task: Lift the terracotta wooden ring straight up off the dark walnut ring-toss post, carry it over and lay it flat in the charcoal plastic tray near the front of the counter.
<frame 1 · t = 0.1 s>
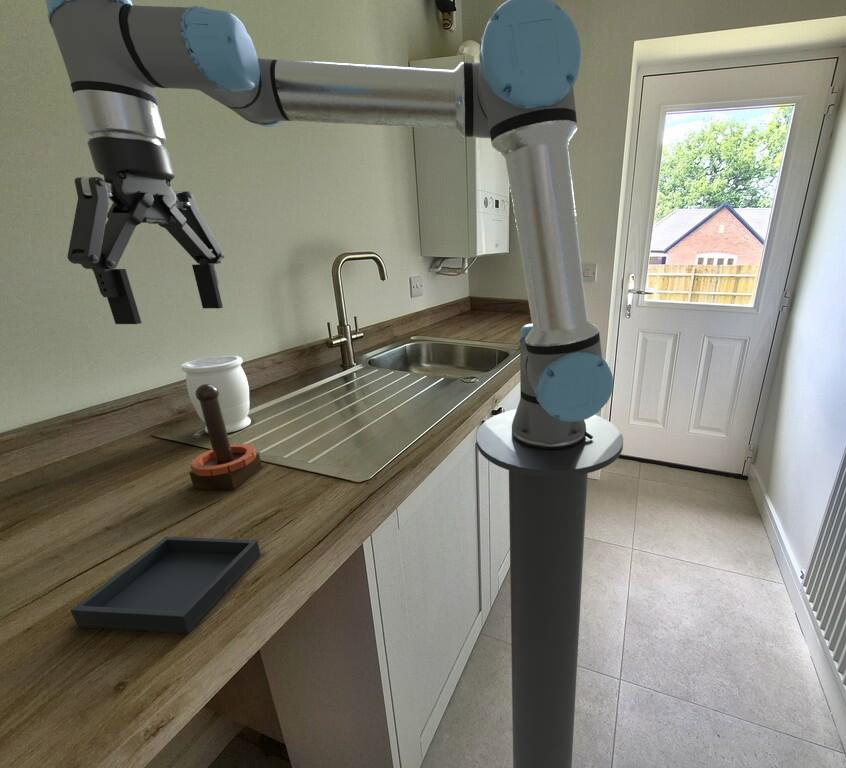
hand: (175, 315, 57), 28 cm above the table, tool pointing down, fingers open, 13 cm apart
tray: (178, 587, 47), on the table
jar: (229, 427, 90), on the table
ring: (225, 462, 69), point 3 cm above the table, touching ring stand
ring stand: (229, 477, 70), on the table
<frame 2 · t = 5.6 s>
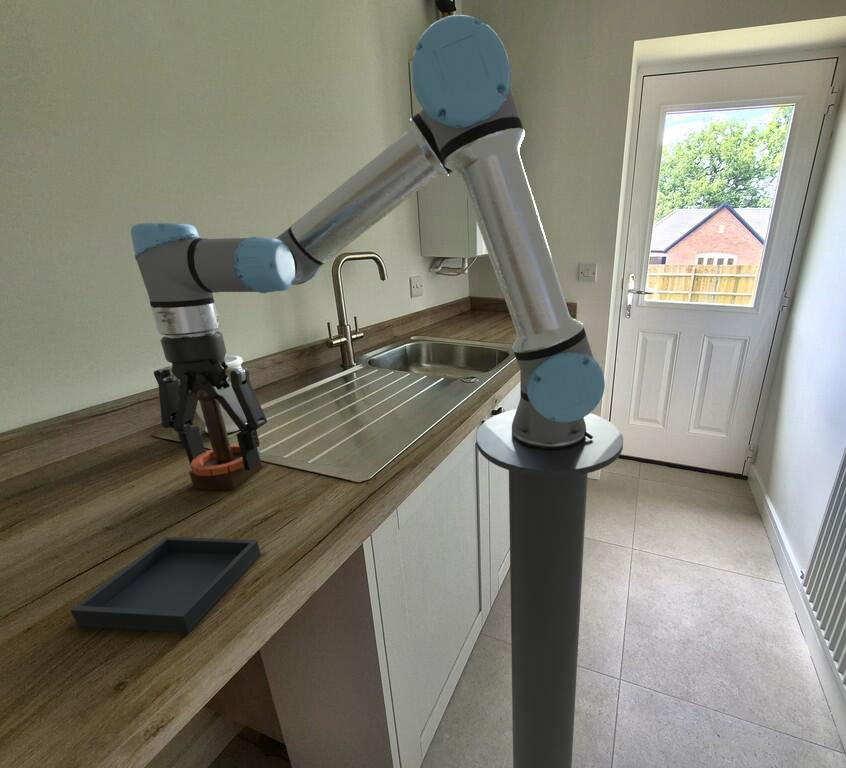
hand: (226, 465, 69), 2 cm above the table, tool pointing down, fingers closed on ring, 9 cm apart
ring: (225, 462, 69), point 3 cm above the table, touching gripper, ring stand
everything else where it was.
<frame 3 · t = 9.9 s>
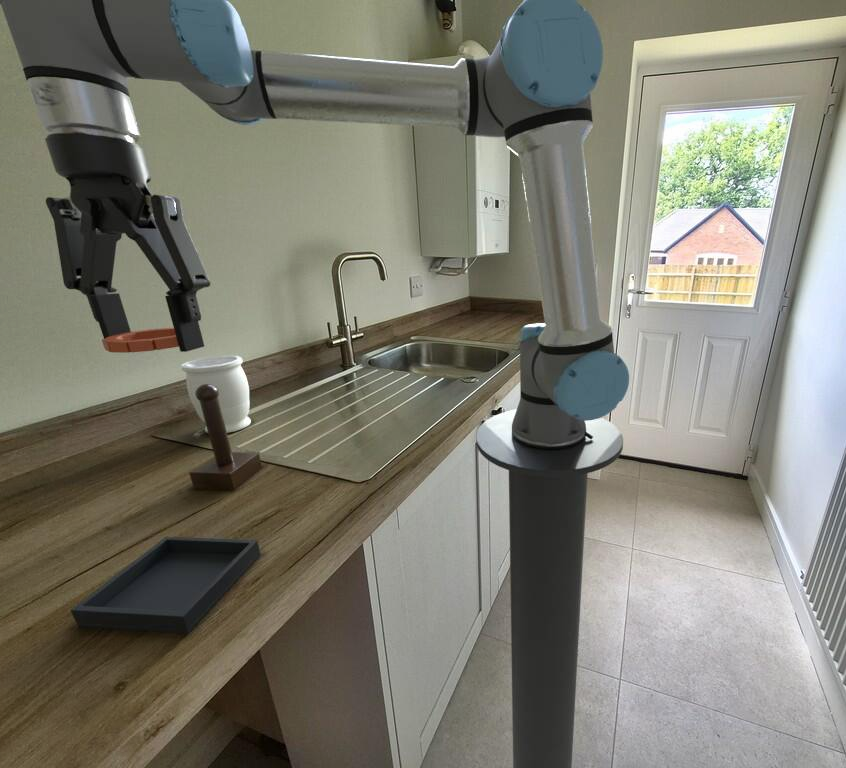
hand: (157, 348, 50), 25 cm above the table, tool pointing down, fingers closed on ring, 9 cm apart
ring: (155, 343, 50), point 26 cm above the table, touching gripper
everything else where it was.
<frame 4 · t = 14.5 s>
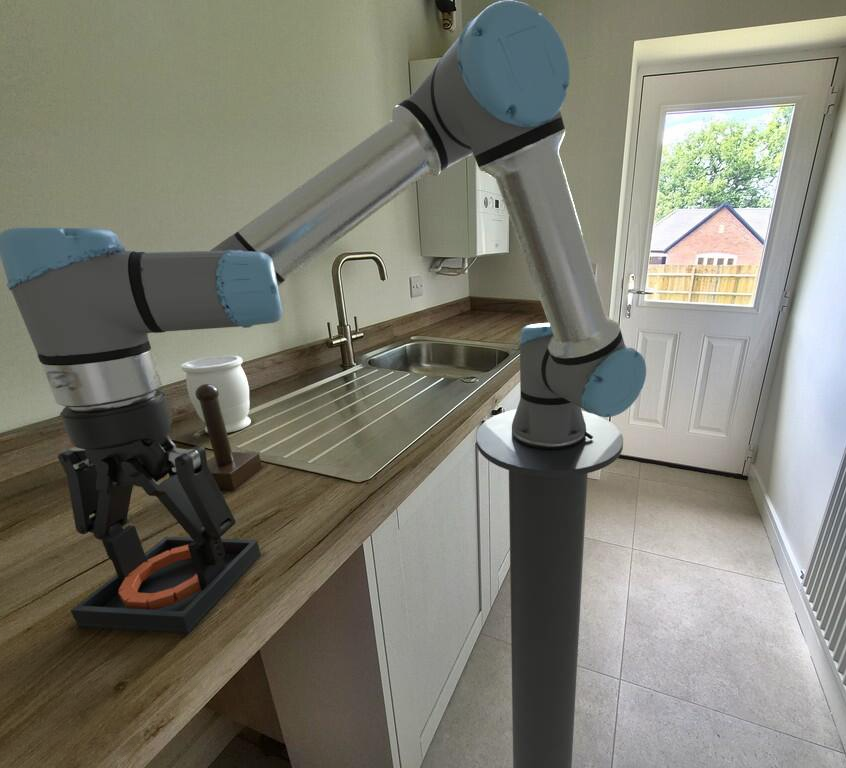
hand: (176, 582, 47), 1 cm above the table, tool pointing down, fingers closed on ring, 9 cm apart
ring: (174, 578, 47), point 1 cm above the table, touching gripper
everything else where it was.
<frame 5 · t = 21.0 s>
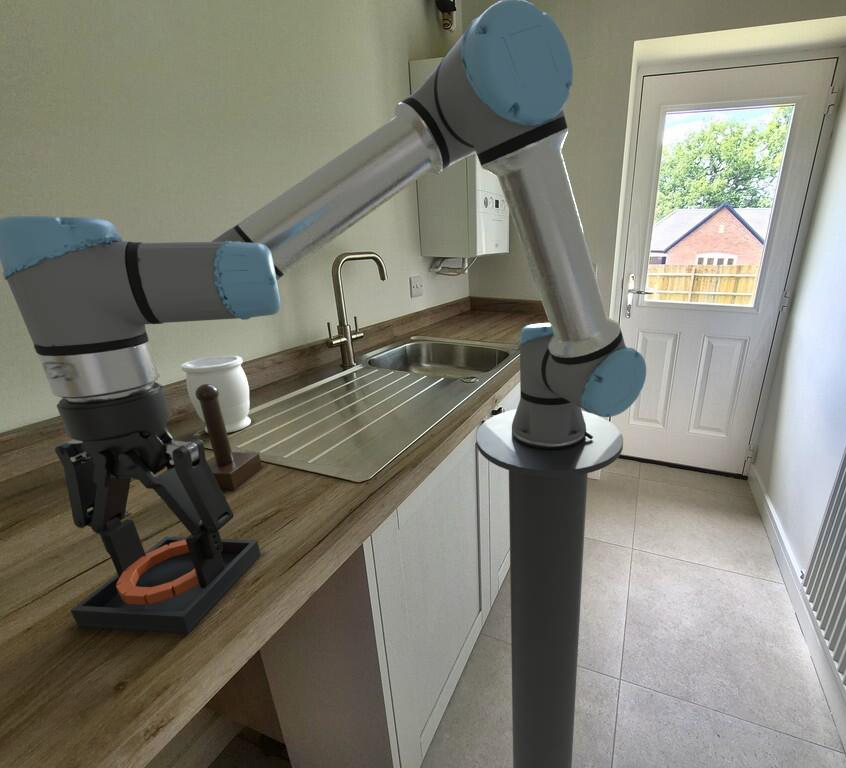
hand: (174, 576, 46), 2 cm above the table, tool pointing down, fingers closed on ring, 9 cm apart
ring: (172, 572, 46), point 2 cm above the table, touching gripper
everything else where it was.
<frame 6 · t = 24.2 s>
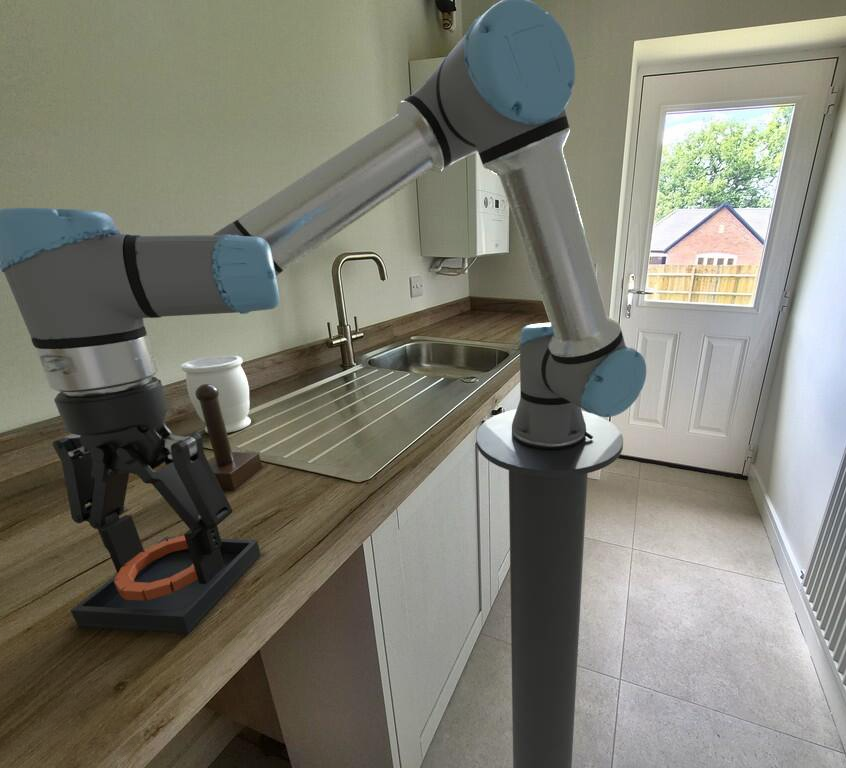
hand: (172, 572, 46), 2 cm above the table, tool pointing down, fingers closed on ring, 9 cm apart
ring: (171, 568, 46), point 3 cm above the table, touching gripper
everything else where it was.
when the fingers open (3 cm above the table, at t = 27.2 s): ring drops 3 cm, resting on tray.
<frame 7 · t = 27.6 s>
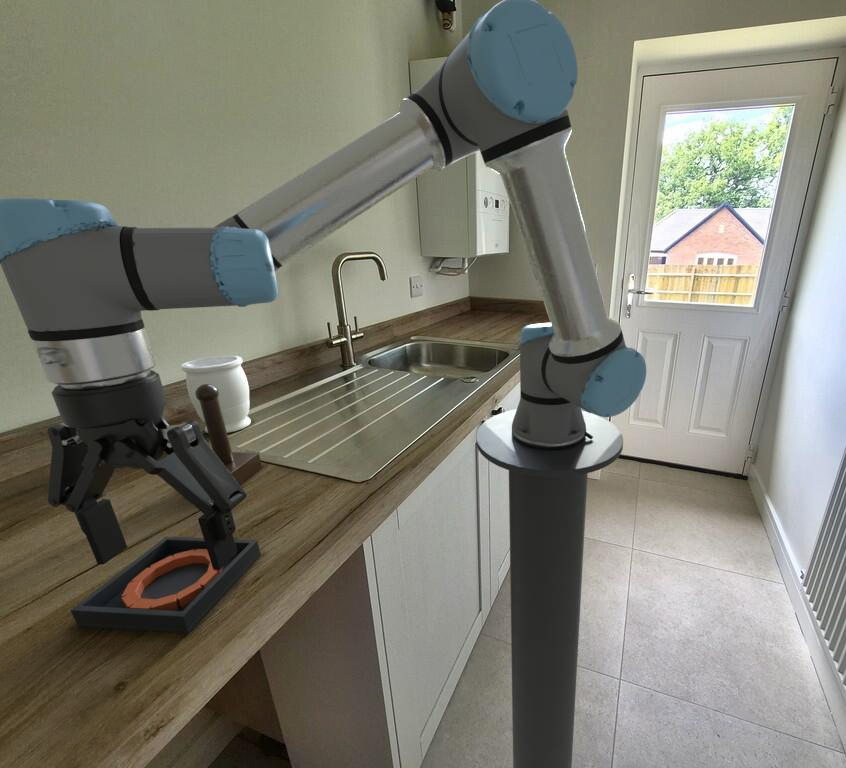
hand: (168, 558, 46), 4 cm above the table, tool pointing down, fingers open, 13 cm apart
ring: (177, 584, 47), resting on tray
everything else where it was.
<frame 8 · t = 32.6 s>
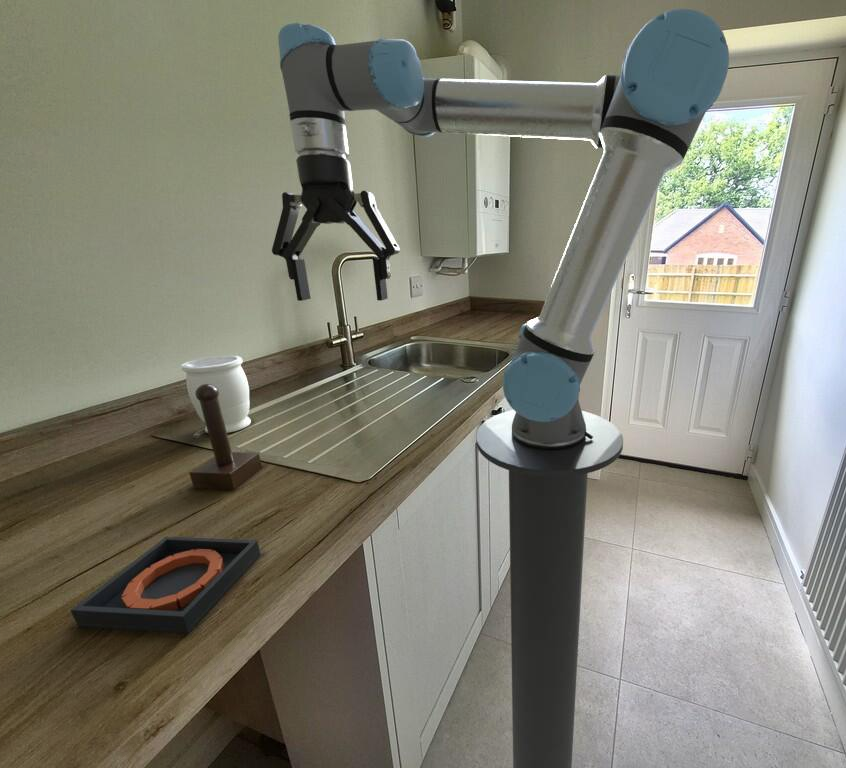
hand: (343, 299, 68), 29 cm above the table, tool pointing down, fingers open, 13 cm apart
nothing on the table moved.
at the end: ring 0.0 cm off-centre in the tray, point 0.5 cm above the tray's base; ring tilted 0°; the gripper is holding nothing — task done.
